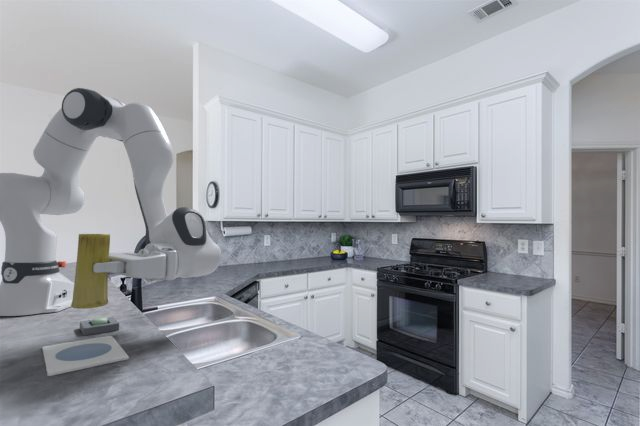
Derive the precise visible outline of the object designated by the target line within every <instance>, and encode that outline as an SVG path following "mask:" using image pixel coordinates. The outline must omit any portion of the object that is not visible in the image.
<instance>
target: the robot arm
mask: <svg viewBox="0 0 640 426" xmlns="http://www.w3.org/2000/svg"><path fill="white" fill-rule="evenodd" d="M98 137H102V138H108V139H112V140H116V141H119V142H121V143H123V145H124V149H125V151H126V154H127V156H128V160H129V163H130V168H131V172H132V178H133V183H134V190H135V194H136V197H137V201H138V205H139V208H140V212H141V215H142V219H143V222H144V226H145V237H144V239H145V241H144V242H145V247H144V248H141V249H140V250H139V251H138V252H137V253H134V252H109V262H107V263H93V264H92V271H93V272H95V273H100V272H108V273H112V274H118V275H121V276H124V277H128V278H133V279H144V280H145V281H146V282H149V283H151V282H161V281H173V280H175V279H177V278H183V279H188V278H196V277H204V276H207V275H210V274H212V273H214V271H215V270H217V269H218V268H219V265H220V264H221V259H222V251H221V248H220V246H219V245H218V244H217V243H216V242H214V240H213V239H212V237H211V236H210V234H209V232H208V230H207V227H206V222H205V219H204V217H203V216H202V214H201V213H200V212H199V211H197V210H196V209H193V208H191V207H186V206H182V207H177V208H176V209H174V211H172V212H171V213H170V214H168V211H167V208H166V203H165V199H164V197H163V195H164V194H163V189H164V184H165V181H166V179H167V176H168V174H169V172H170V170H171V168H172V167H173V164H174V160H175V157H174V148H173V146H172V145H173V144H172V143H171V140H170V138H169V136H168V133H167V131H166V130H165V128H164V125H163V124H162V122H161V121H160V119H159V117H158V115H157V114H156V112H154V110H153V109H152V108H151V107H150V106H149V105H147V104H145V103H140V102H132V103H128V104H126V103H124V102H122V101H121V100H119V99H117V98H112V97H109V96H107V95H104V94H101V93H99V92H97V91H95V90H92V89H89V88H82V87H75V88H73V89H71V90H70V91H68V92H67V93H66V94H65V96H64V97H63V99H62V101H61V108H60V109H59V110H58V111H57V112H56V113H55V114H54V115H53V117H52V118H51V119H50V121H49V122H48V124H47V126H46V127H45V129H44V131H43V132H42V135H41V136H40V138H39V140H38V142H37V143H36V145H35V147H34V149H33V154H32V155H33V157H34V160H35V162H36V163H37V164H38V165H40V166H41V168H43V169H44V170H43V173H42V175H40V176H36V175H35V176H34V175H30V174H29V175H27V174H23V173H16V172H0V223H1V225H2V227H3V231H4V237H5V251H4V253H5V254H4V261H3V262H2V264H1V270H0V275H1V278H2V279H1V281H0V317H16V316H29V315H38V314H46V313H57V312H60V311H62V310H65V309H68V308H72V307H71V304H72V299H73V290H74V283H75V282H73V281H71V280H70V279H69V278H67V277H66V276H65V275H63V274H62V273H61V272H60V268H62V269H63V268H64V269H65V268H66V267H67V265H68V263H67V261H65V260H63V261H61V260H59V261H57V260H56V257H57V256H56V255H57V245H58V236H57V234H56V232H54V231H53V230H52V229H50V228H49V227H46V226H45V225H44V224H43V221H42V219H41V216H40V215H49V216H50V215H51V216H53V215H54V216H61V215H63V216H64V215H70V214H75V213H77V212H79V211H80V210H81V209H82V208H83V206H84V205H85V199H86V197H85V193H84V190H83V189H82V187H80V185H79V181H78V175H79V170H80V169H81V166H82V165H83V163H84V160H85V159H86V156H87V155H88V154H89V151H90V149H91V148H92V147H93V144H94V142H95V140H96V139H97V138H98Z"/></svg>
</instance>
